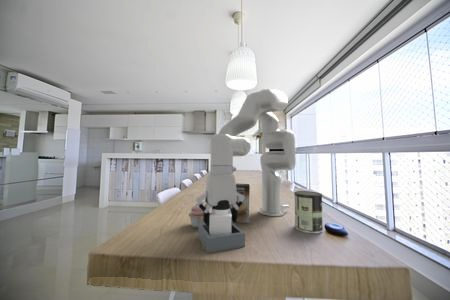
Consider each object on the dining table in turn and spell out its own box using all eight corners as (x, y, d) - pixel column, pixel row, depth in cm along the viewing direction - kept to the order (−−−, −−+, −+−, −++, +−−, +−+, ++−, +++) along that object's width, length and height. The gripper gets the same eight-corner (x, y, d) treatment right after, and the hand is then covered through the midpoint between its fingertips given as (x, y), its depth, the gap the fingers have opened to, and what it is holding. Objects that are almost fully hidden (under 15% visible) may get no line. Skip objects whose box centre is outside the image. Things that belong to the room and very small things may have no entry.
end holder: (229, 232, 68) (230, 220, 68) (244, 246, 56) (245, 233, 57) (198, 236, 63) (198, 224, 64) (207, 253, 52) (208, 238, 52)
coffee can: (318, 225, 76) (317, 191, 77) (326, 235, 66) (326, 196, 67) (292, 223, 78) (292, 190, 79) (297, 232, 68) (296, 194, 69)
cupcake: (189, 231, 68) (189, 204, 69) (187, 222, 77) (188, 199, 78) (213, 229, 70) (214, 203, 71) (209, 221, 79) (209, 198, 80)
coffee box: (228, 222, 78) (228, 184, 79) (229, 217, 85) (229, 183, 86) (249, 223, 78) (249, 185, 78) (249, 218, 84) (249, 183, 85)
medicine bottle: (231, 239, 57) (232, 200, 57) (209, 238, 57) (209, 200, 57) (230, 230, 64) (231, 195, 65) (210, 229, 64) (211, 195, 64)
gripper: (239, 170, 68) (239, 216, 67) (193, 170, 62) (192, 222, 61) (249, 171, 61) (249, 223, 60) (198, 171, 55) (197, 230, 54)
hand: (220, 222), depth 60 cm, fingers closed on medicine bottle, 9 cm apart
